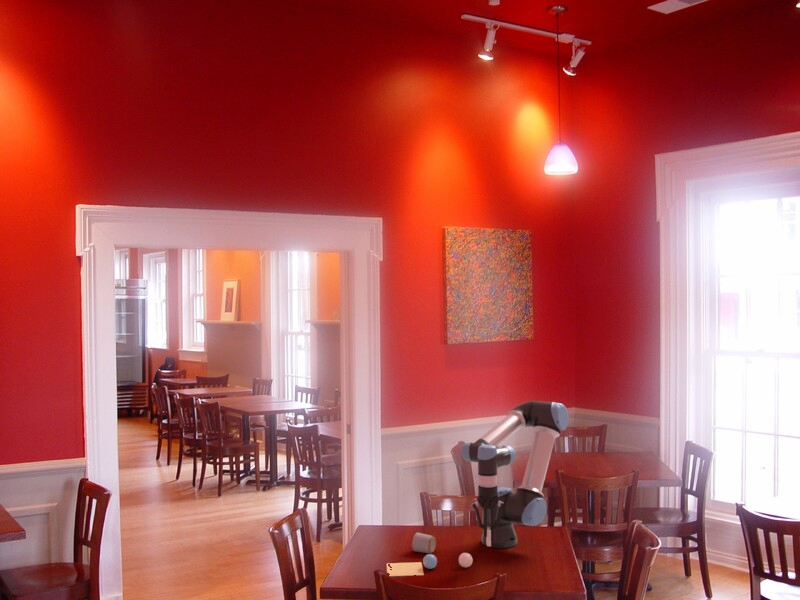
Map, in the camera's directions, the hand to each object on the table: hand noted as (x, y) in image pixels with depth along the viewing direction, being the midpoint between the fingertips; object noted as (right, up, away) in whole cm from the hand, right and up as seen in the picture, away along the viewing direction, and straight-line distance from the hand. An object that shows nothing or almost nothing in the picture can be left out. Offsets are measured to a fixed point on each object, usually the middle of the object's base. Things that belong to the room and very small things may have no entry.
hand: (488, 545), depth 306 cm
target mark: (-33, -9, -1) cm, 34 cm away
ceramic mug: (-24, -9, +20) cm, 33 cm away
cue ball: (-9, -6, 0) cm, 11 cm away
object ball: (-23, -6, -1) cm, 24 cm away
